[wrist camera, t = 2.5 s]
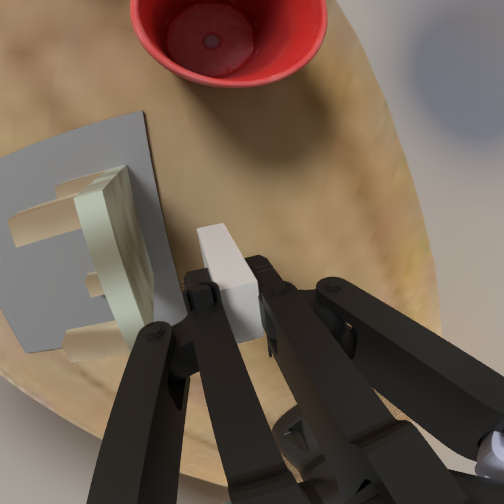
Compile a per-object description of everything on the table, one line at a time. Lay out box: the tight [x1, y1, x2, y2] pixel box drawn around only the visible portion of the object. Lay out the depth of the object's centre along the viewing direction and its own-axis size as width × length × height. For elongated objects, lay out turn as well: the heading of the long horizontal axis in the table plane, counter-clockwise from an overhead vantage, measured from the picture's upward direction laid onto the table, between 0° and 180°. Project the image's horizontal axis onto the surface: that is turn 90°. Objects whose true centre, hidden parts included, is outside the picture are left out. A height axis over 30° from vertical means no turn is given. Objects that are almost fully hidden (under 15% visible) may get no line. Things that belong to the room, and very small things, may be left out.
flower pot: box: [130, 0, 327, 88], centre depth 16 cm, size 11×11×10 cm
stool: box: [7, 164, 154, 363], centre depth 19 cm, size 10×6×10 cm, turn 7°
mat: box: [0, 111, 188, 353], centre depth 23 cm, size 20×20×1 cm
